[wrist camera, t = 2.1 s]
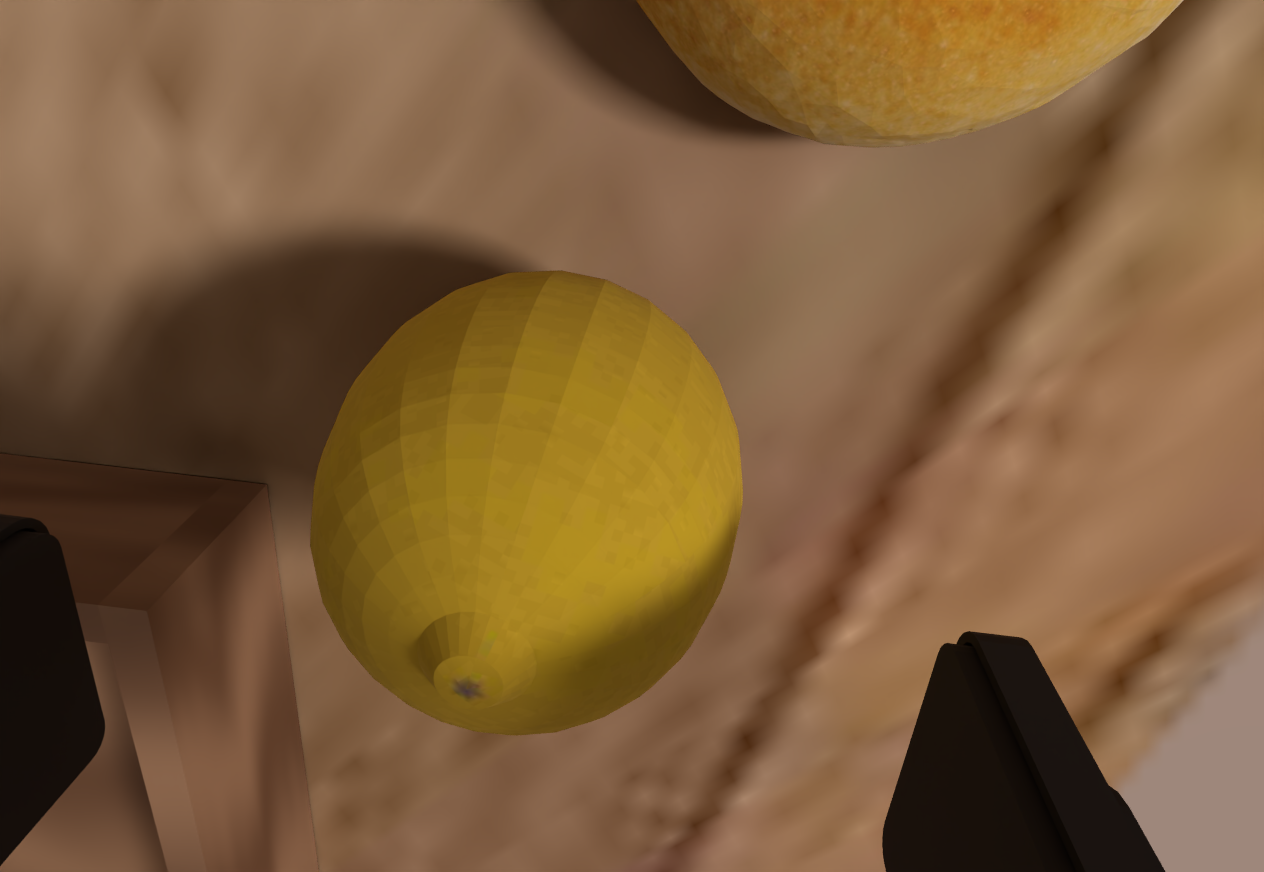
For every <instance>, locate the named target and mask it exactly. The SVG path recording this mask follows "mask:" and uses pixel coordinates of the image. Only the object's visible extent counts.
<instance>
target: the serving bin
mask: <svg viewBox="0 0 1264 872" xmlns="http://www.w3.org/2000/svg"><path fill="white" fill-rule="evenodd" d="M0 514H4V515H12V516H20V517H29V518H34V519H36V520H39V521H41V522H42V523H43V524H44V525H45V526H46V527H47V529H48V531H49V534H50V535H53V536H55V537H56V538H57V539H58V540H59V543H60V545H61V547H62V551H63V555H64V559H65V563H66V567H67V571H68V575H69V579H70V583H71V587H72V591H73V595H74V599H75V603H76V607H77V611H78V615H79V619H80V623H81V627H82V631H83V635H84V639H85V643H86V647H87V651H88V655H89V659H90V663H91V667H92V671H93V675H94V679H95V683H96V687H97V691H98V695H99V699H100V703H101V707H102V711H103V715H104V719H105V734H104V738H103V741H102V744H101V746H100V748H99V750H98V752H97V754H96V755H95V756H94V758H93V759H92V760H91V762H90V763H89V764H88V765H87V766H86V767H85V769H84V770H83V771H82V772H81V773H80V774H79V776H78V777H77V778H76V779H75V780H74V781H73V783H72V784H71V785H70V786H69V787H68V788H67V789H66V791H65V792H64V793H63V794H62V795H61V796H60V798H59V799H58V800H57V801H56V802H55V803H54V805H53V806H52V807H51V808H50V809H49V810H48V811H47V813H46V814H45V815H44V816H43V817H42V818H41V820H40V821H39V822H38V823H37V824H36V825H35V827H34V828H33V829H32V830H31V831H30V832H29V833H28V835H27V836H26V837H25V838H24V839H23V840H22V842H21V843H20V844H19V845H18V846H17V847H16V849H15V850H14V851H13V852H12V853H11V854H10V855H9V857H8V858H7V859H6V860H5V861H4V862H3V864H2V865H1V866H0V872H319V868H318V861H317V853H316V846H315V839H314V831H313V824H312V816H311V809H310V801H309V794H308V787H307V779H306V772H305V764H304V757H303V749H302V742H301V734H300V727H299V720H298V712H297V705H296V697H295V690H294V682H293V675H292V668H291V660H290V653H289V645H288V638H287V630H286V623H285V616H284V608H283V601H282V593H281V586H280V578H279V571H278V564H277V556H276V549H275V541H274V534H273V526H272V519H271V511H270V504H269V497H268V489H267V485H266V484H258V483H249V482H241V481H232V480H223V479H215V478H206V477H198V476H189V475H181V474H172V473H164V472H155V471H147V470H138V469H130V468H121V467H112V466H104V465H95V464H87V463H78V462H70V461H61V460H53V459H44V458H36V457H27V456H19V455H10V454H1V453H0Z"/></svg>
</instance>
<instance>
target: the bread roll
mask: <svg viewBox="0 0 1264 872" xmlns="http://www.w3.org/2000/svg"><path fill="white" fill-rule="evenodd" d="M636 1H637V2H638V4H639V5H640V7H641V8H642V9H643V11H644V12H645V14H646V15H647V16H648V18H649V19H650V20H651V22H652V23H653V24H654V26H655V27H656V29H657V30H658V31H659V33H660V34H661V35H662V37H663V38H664V39H665V41H666V42H667V44H668V45H669V46H670V48H671V49H672V50H673V52H674V53H675V54H676V55H677V56H678V57H679V58H680V60H681V61H682V62H683V63H684V64H685V65H686V66H687V68H688V69H689V70H690V71H691V72H692V73H693V74H694V75H695V77H696V78H697V79H698V80H699V81H700V82H701V83H702V84H703V85H704V86H705V87H706V88H708V89H709V90H710V91H711V92H713V93H714V94H715V95H716V96H718V97H719V98H721V99H722V100H723V101H725V102H726V103H728V104H729V105H731V106H732V107H734V108H736V109H737V110H739V111H741V112H742V113H744V114H746V115H747V116H749V117H751V118H753V119H755V120H758V121H760V122H763V123H766V124H768V125H771V126H773V127H776V128H778V129H781V130H783V131H786V132H788V133H792V134H795V135H798V136H802V137H805V138H808V139H811V140H814V141H817V142H820V143H823V144H832V145H845V146H859V147H901V146H909V145H916V144H923V143H928V142H933V141H938V140H944V139H949V138H953V137H956V136H959V135H963V134H968V133H971V132H974V131H978V130H981V129H984V128H987V127H990V126H993V125H995V124H998V123H1001V122H1004V121H1006V120H1009V119H1012V118H1014V117H1017V116H1019V115H1022V114H1024V113H1026V112H1029V111H1031V110H1033V109H1036V108H1038V107H1040V106H1042V105H1044V104H1046V103H1048V102H1049V101H1051V100H1053V99H1054V98H1056V97H1057V96H1059V95H1060V94H1062V93H1064V92H1065V91H1067V90H1068V89H1070V88H1071V87H1073V86H1074V85H1076V84H1077V83H1079V82H1080V81H1081V80H1083V79H1084V78H1086V77H1087V76H1089V75H1090V74H1092V73H1093V72H1095V71H1096V70H1098V69H1099V68H1101V67H1102V66H1104V65H1105V64H1107V63H1108V62H1110V61H1111V60H1112V59H1114V58H1115V57H1117V56H1118V55H1120V54H1121V53H1123V52H1124V51H1126V50H1127V49H1129V48H1130V47H1132V46H1133V45H1135V44H1136V43H1138V42H1140V41H1141V40H1143V39H1144V38H1146V37H1148V36H1149V35H1150V34H1151V33H1152V32H1153V31H1154V30H1155V29H1156V28H1157V27H1158V26H1159V25H1160V24H1161V23H1162V22H1163V21H1164V20H1165V19H1166V18H1167V17H1168V16H1169V15H1170V14H1171V13H1172V12H1173V11H1174V9H1175V8H1176V7H1177V6H1178V5H1179V4H1180V3H1181V2H1182V1H1183V0H636Z"/></svg>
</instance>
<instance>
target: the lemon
mask: <svg viewBox="0 0 1264 872" xmlns="http://www.w3.org/2000/svg"><path fill="white" fill-rule="evenodd" d="M742 495H743V487H742V473H741V460H740V446H739V438H738V431H737V428H736V424H735V421H734V418H733V416H732V413H731V411H730V408H729V405H728V403H727V400H726V397H725V395H724V392H723V389H722V387H721V384H720V382H719V379H718V377H717V375H716V373H715V371H714V370H713V368H712V367H711V365H710V364H709V363H708V361H707V360H706V358H705V357H704V356H703V354H702V353H701V352H700V350H699V349H698V347H697V346H696V345H695V343H694V342H693V340H692V339H691V338H690V336H689V335H688V334H687V332H686V331H685V330H683V329H682V328H681V327H680V326H679V325H678V324H676V323H675V322H674V321H673V320H672V319H670V318H669V317H668V316H667V315H666V314H664V313H663V312H662V311H661V310H660V309H658V308H657V307H656V306H655V305H654V304H652V303H651V302H650V301H649V300H648V299H646V298H643V297H641V296H639V295H637V294H635V293H633V292H631V291H629V290H627V289H625V288H622V287H620V286H618V285H616V284H614V283H612V282H610V281H608V280H605V279H600V278H595V277H590V276H585V275H580V274H575V273H571V272H566V271H539V272H513V273H507V274H504V275H501V276H497V277H494V278H491V279H488V280H485V281H481V282H478V283H475V284H472V285H468V286H465V287H463V288H460V289H457V290H455V291H453V292H452V293H450V294H448V295H447V296H445V297H444V298H442V299H441V300H439V301H438V302H436V303H434V304H433V305H431V306H430V307H428V308H427V309H425V310H424V311H422V312H421V313H419V314H418V315H416V316H415V317H413V318H412V319H410V320H408V321H407V322H406V323H405V324H403V325H402V326H401V327H400V328H399V329H398V330H397V331H396V332H395V333H394V334H393V335H392V336H391V338H390V339H389V340H388V341H387V342H386V343H385V345H384V346H383V347H382V348H381V349H380V350H379V352H378V353H377V354H376V355H375V356H374V357H373V359H372V360H371V361H370V362H369V363H368V365H367V366H366V367H365V368H364V369H363V371H362V372H361V373H360V374H359V376H358V377H357V378H356V380H355V381H354V383H353V385H352V386H351V388H350V390H349V391H348V393H347V395H346V398H345V400H344V402H343V404H342V407H341V409H340V411H339V414H338V416H337V419H336V421H335V423H334V426H333V428H332V430H331V433H330V435H329V438H328V440H327V442H326V445H325V447H324V450H323V453H322V456H321V459H320V462H319V465H318V469H317V474H316V478H315V483H314V493H313V506H312V518H311V538H310V547H311V552H312V556H313V561H314V566H315V571H316V575H317V580H318V585H319V589H320V593H321V597H322V601H323V604H324V606H325V608H326V610H327V612H328V614H329V615H330V617H331V619H332V621H333V623H334V625H335V627H336V629H337V631H338V633H339V635H340V637H341V639H342V640H343V642H344V643H345V645H346V646H347V648H348V649H349V651H350V652H351V653H352V654H353V655H354V656H355V658H356V659H357V660H358V661H359V662H360V663H361V664H362V666H363V667H364V668H365V669H366V670H367V671H368V673H369V674H370V675H371V676H372V677H373V678H374V679H375V680H376V681H377V682H379V683H380V684H381V685H383V686H384V687H385V688H387V689H388V690H389V691H390V692H392V693H393V694H394V695H396V696H397V697H398V698H400V699H401V700H402V701H403V702H405V703H406V704H408V705H409V706H411V707H413V708H415V709H417V710H419V711H421V712H423V713H425V714H427V715H429V716H431V717H433V718H435V719H437V720H439V721H441V722H444V723H448V724H451V725H455V726H458V727H462V728H465V729H468V730H472V731H476V732H486V733H495V734H504V735H528V734H541V733H553V732H558V731H561V730H565V729H568V728H571V727H575V726H578V725H581V724H585V723H588V722H591V721H594V720H597V719H600V718H602V717H605V716H607V715H608V714H610V713H612V712H614V711H615V710H617V709H619V708H621V707H623V706H624V705H626V704H628V703H630V702H631V701H633V700H635V699H637V698H638V697H640V696H641V695H642V694H643V693H645V692H646V691H647V690H649V689H650V688H651V687H652V686H653V685H654V684H655V683H656V682H657V681H658V680H659V679H661V678H662V677H663V676H664V675H665V674H666V673H667V672H668V671H669V670H670V669H671V668H672V667H673V666H674V665H675V664H676V663H677V662H678V661H679V660H680V659H681V658H682V657H683V655H684V654H685V653H686V651H687V650H688V649H689V647H690V646H691V645H692V643H693V641H694V639H695V638H696V636H697V634H698V632H699V630H700V629H701V627H702V625H703V623H704V621H705V620H706V618H707V616H708V614H709V612H710V611H711V609H712V607H713V605H714V603H715V601H716V599H717V597H718V595H719V594H720V591H721V589H722V586H723V584H724V581H725V578H726V576H727V572H728V568H729V565H730V561H731V557H732V552H733V547H734V543H735V538H736V534H737V529H738V525H739V520H740V514H741V508H742Z"/></svg>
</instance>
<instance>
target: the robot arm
mask: <svg viewBox="0 0 1264 872" xmlns="http://www.w3.org/2000/svg"><path fill="white" fill-rule="evenodd" d="M104 734H105V719H104V715H103V711H102V707H101V703H100V699H99V695H98V691H97V687H96V683H95V679H94V675H93V671H92V667H91V663H90V659H89V655H88V651H87V647H86V643H85V639H84V635H83V631H82V627H81V623H80V619H79V615H78V611H77V607H76V603H75V599H74V595H73V591H72V587H71V583H70V579H69V575H68V571H67V567H66V563H65V559H64V555H63V551H62V547H61V545H60V543H59V540H58V539H57V538H56V537H55V536H53V535H50V534H49V531H48V529H47V527H46V526H45V525H44V524H43V523H42V522H41V521H39V520H36V519H34V518H29V517H20V516H12V515H4V514H0V866H1V865H2V864H3V862H4V861H5V860H6V859H7V858H8V857H9V855H10V854H11V853H12V852H13V851H14V850H15V849H16V847H17V846H18V845H19V844H20V843H21V842H22V840H23V839H24V838H25V837H26V836H27V835H28V833H29V832H30V831H31V830H32V829H33V828H34V827H35V825H36V824H37V823H38V822H39V821H40V820H41V818H42V817H43V816H44V815H45V814H46V813H47V811H48V810H49V809H50V808H51V807H52V806H53V805H54V803H55V802H56V801H57V800H58V799H59V798H60V796H61V795H62V794H63V793H64V792H65V791H66V789H67V788H68V787H69V786H70V785H71V784H72V783H73V781H74V780H75V779H76V778H77V777H78V776H79V774H80V773H81V772H82V771H83V770H84V769H85V767H86V766H87V765H88V764H89V763H90V762H91V760H92V759H93V758H94V756H95V755H96V754H97V752H98V750H99V748H100V746H101V744H102V741H103V738H104ZM882 847H883V858H884V864H885V868H886V872H1165V870H1164V868H1163V867H1162V865H1161V863H1160V861H1159V860H1158V858H1157V856H1156V854H1155V853H1154V851H1153V849H1152V847H1151V845H1150V844H1149V842H1148V840H1147V838H1146V836H1145V835H1144V833H1143V831H1142V829H1141V828H1140V826H1139V824H1138V822H1137V820H1136V819H1135V817H1134V815H1133V813H1132V811H1131V810H1130V808H1129V806H1128V805H1127V804H1126V802H1125V801H1124V800H1123V798H1122V797H1121V795H1120V794H1119V793H1118V792H1117V791H1116V790H1114V789H1113V788H1112V787H1110V786H1109V785H1108V784H1107V782H1106V780H1105V778H1104V776H1103V775H1102V773H1101V771H1100V769H1099V767H1098V765H1097V764H1096V762H1095V760H1094V758H1093V756H1092V755H1091V753H1090V751H1089V749H1088V747H1087V746H1086V744H1085V742H1084V740H1083V738H1082V736H1081V735H1080V733H1079V731H1078V729H1077V727H1076V726H1075V724H1074V722H1073V720H1072V718H1071V716H1070V715H1069V713H1068V711H1067V709H1066V707H1065V706H1064V704H1063V702H1062V700H1061V698H1060V696H1059V695H1058V693H1057V691H1056V689H1055V687H1054V686H1053V684H1052V682H1051V680H1050V678H1049V676H1048V675H1047V673H1046V671H1045V669H1044V667H1043V666H1042V664H1041V662H1040V660H1039V658H1038V656H1037V655H1036V653H1035V651H1034V649H1033V647H1032V646H1031V645H1030V643H1029V642H1028V641H1027V640H1025V639H1023V638H1020V637H1012V636H1003V635H995V634H987V633H979V632H970V631H968V632H965V633H963V634H962V635H961V637H960V638H959V640H958V642H957V644H950V643H946V644H944V645H943V646H942V647H941V648H940V650H939V653H938V655H937V659H936V662H935V665H934V668H933V671H932V674H931V678H930V681H929V684H928V687H927V690H926V693H925V696H924V700H923V703H922V706H921V709H920V712H919V715H918V719H917V722H916V725H915V728H914V731H913V734H912V738H911V741H910V744H909V747H908V750H907V753H906V757H905V760H904V763H903V766H902V769H901V772H900V776H899V779H898V782H897V785H896V788H895V791H894V794H893V798H892V801H891V804H890V807H889V810H888V813H887V817H886V820H885V824H884V828H883V843H882Z"/></svg>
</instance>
